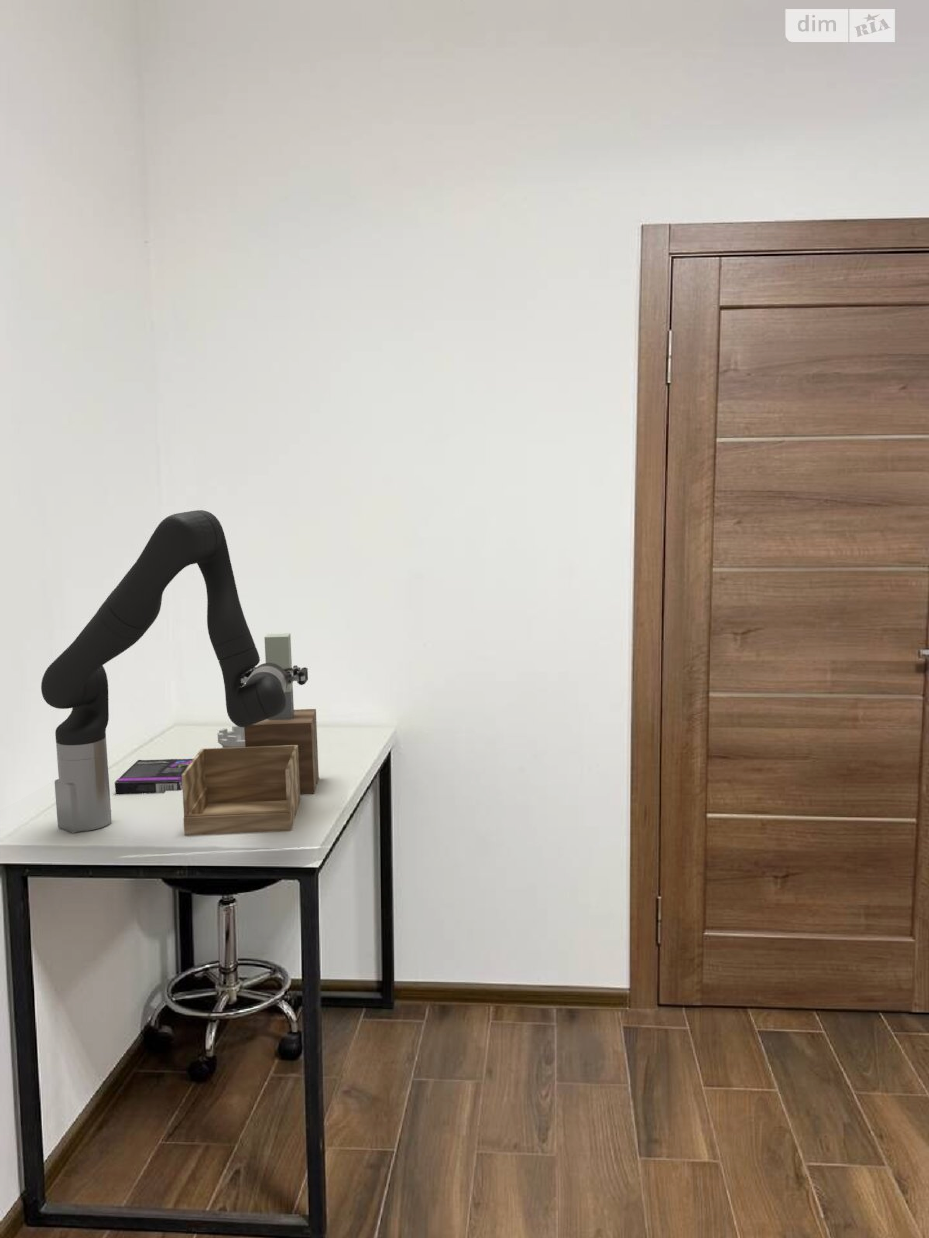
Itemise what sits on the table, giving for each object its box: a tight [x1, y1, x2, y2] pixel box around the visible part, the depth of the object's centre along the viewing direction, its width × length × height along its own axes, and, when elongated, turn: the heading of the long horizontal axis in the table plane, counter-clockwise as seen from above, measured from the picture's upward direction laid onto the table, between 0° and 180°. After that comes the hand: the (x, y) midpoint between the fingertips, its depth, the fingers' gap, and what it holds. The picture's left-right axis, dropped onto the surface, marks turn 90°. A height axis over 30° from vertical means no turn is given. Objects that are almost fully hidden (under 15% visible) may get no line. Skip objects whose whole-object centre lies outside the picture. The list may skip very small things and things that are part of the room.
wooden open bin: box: [181, 745, 301, 836], centre depth 204 cm, size 21×20×12 cm
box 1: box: [114, 758, 194, 795], centre depth 233 cm, size 14×4×20 cm
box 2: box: [263, 632, 295, 720], centre depth 221 cm, size 5×5×18 cm
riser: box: [244, 708, 320, 796], centre depth 224 cm, size 14×14×16 cm
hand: (275, 671), depth 215 cm, fingers open, 8 cm apart
